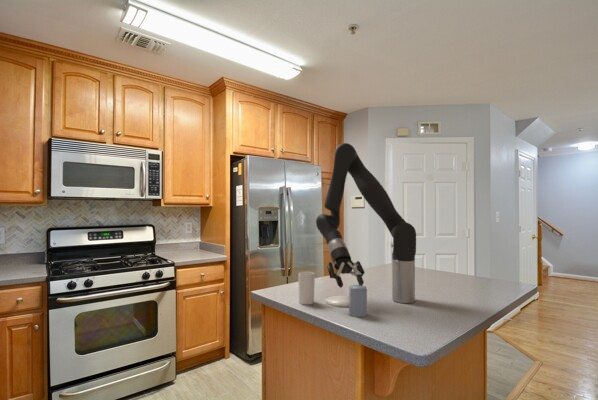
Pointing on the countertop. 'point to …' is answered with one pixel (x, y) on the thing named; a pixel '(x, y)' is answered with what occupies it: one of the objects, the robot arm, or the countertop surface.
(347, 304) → the dish
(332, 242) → the robot arm
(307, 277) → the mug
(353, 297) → the tumbler
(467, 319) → the countertop surface
